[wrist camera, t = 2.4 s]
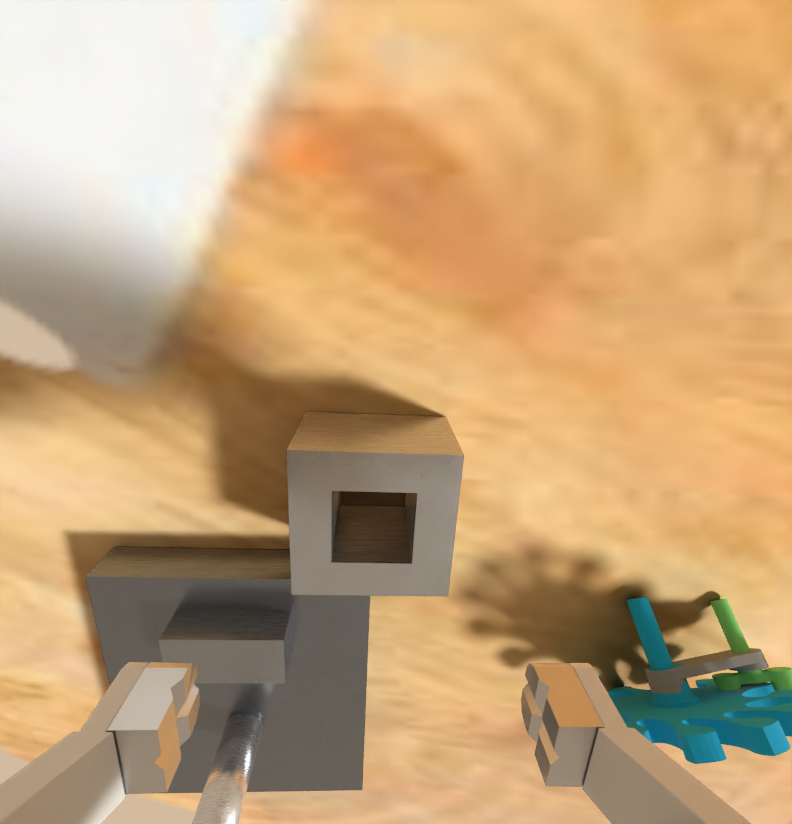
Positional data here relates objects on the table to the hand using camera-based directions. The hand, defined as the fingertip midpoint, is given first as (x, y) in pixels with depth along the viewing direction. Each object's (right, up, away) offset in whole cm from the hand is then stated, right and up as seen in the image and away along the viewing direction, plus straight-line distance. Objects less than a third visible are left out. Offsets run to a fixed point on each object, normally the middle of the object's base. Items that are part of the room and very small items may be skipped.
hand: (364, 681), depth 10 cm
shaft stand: (-7, -6, +12) cm, 15 cm away
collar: (0, +4, +9) cm, 9 cm away
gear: (+14, -6, +13) cm, 20 cm away
